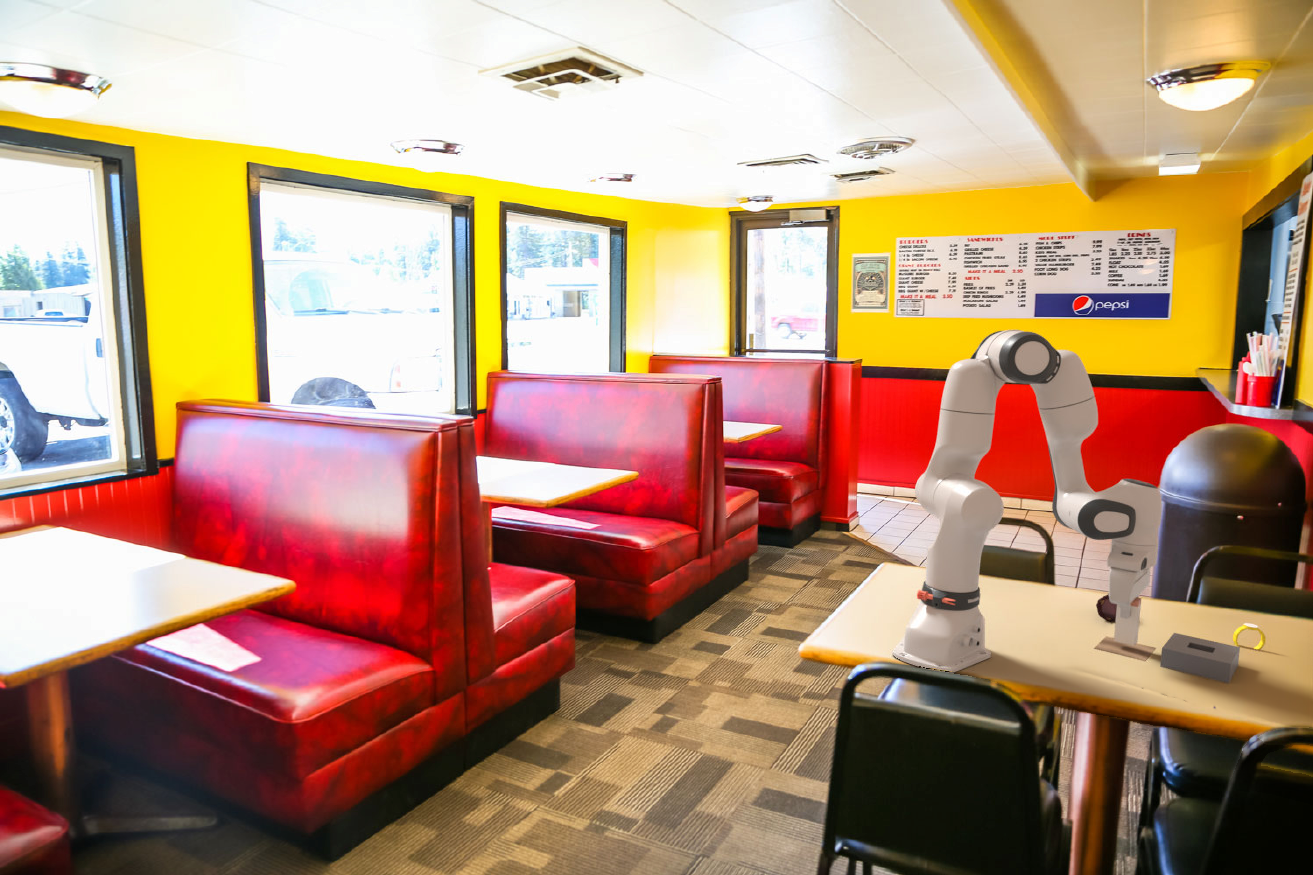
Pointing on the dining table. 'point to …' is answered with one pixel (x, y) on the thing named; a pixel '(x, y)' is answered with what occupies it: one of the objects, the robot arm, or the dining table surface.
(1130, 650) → the pad
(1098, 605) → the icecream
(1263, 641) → the watch
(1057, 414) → the robot arm
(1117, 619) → the plug
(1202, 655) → the block
